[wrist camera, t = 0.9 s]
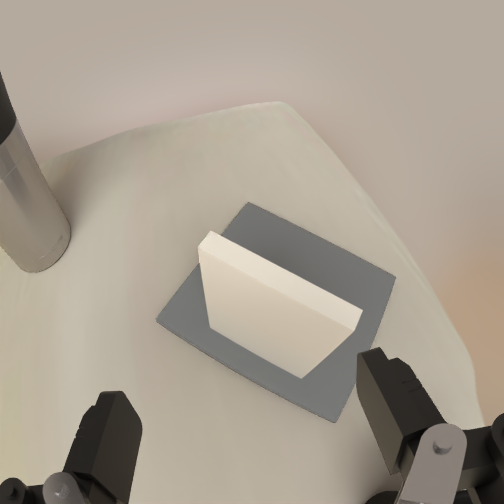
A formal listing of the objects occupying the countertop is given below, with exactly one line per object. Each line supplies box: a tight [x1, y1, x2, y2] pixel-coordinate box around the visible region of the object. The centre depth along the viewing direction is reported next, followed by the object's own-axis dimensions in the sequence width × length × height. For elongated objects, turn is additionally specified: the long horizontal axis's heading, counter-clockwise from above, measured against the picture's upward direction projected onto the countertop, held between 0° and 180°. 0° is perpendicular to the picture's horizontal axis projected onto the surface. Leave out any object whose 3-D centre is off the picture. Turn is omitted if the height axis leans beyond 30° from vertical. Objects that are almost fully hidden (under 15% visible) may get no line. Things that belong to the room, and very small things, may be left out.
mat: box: [156, 202, 396, 423], centre depth 33 cm, size 20×18×1 cm
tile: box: [198, 231, 363, 379], centre depth 24 cm, size 10×2×14 cm, turn 60°
